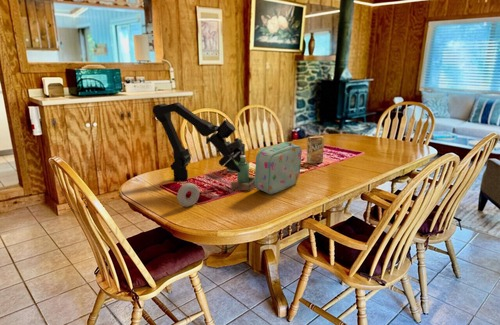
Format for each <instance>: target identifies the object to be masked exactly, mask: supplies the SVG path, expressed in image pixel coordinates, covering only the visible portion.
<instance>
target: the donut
mask: <svg viewBox="0 0 500 325" xmlns="http://www.w3.org/2000/svg"><path fill="white" fill-rule="evenodd" d="M188 192H191V194H190V196H189V197H188V198H187V196H186V195H187V194H188ZM199 197H200V189H199V187H198V186H197V185H196V184H195V183H191V182H187V183H184V184H182V186H180V188H179V189H178V191H177V197H176V198H177V201H178V203H179V204H180V205H181V206H182V207H186V208H187V207H191V206H193V205H195V204H196V203H197V202H198V200H199Z"/></svg>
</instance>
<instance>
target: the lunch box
mask: <svg viewBox="0 0 500 325" xmlns="http://www.w3.org/2000/svg"><path fill="white" fill-rule="evenodd" d="M301 164H302V147H301V146H300V145H298V144H297V145H296V144H294V143H292V142H290V141H284V142H283V141H282V142H281V143H278V144H275V145H271V146H267V147H266V146H265V147H263V148H261V149H259V151H258V153H257V154H256V156H255V171H254V177H255V186H254V187H255V188H256V190H258V191H262V192H265V193H267V194H268V195H274V194H276V193H278V192H281V191H283V190H287V189H288V188H290V187H292V186H294V185H295V184H296V183H297V181H298V179H299V178H300V177H299V176H300V172H301Z"/></svg>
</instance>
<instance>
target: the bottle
mask: <svg viewBox="0 0 500 325" xmlns="http://www.w3.org/2000/svg"><path fill="white" fill-rule="evenodd" d="M246 157H247V156H246V154H245V155H241V156H240V158H241V161H240V162H239V163H238V164H237V166H238V167H239V169H240V172H236V175H237V176H236V178H237V181H236V182H237V183H247V184H249V177H250V164H249V163H248V161H247V160H246Z"/></svg>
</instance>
